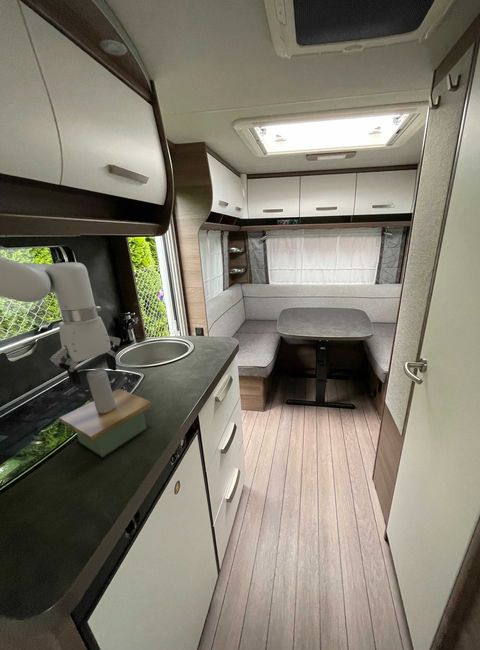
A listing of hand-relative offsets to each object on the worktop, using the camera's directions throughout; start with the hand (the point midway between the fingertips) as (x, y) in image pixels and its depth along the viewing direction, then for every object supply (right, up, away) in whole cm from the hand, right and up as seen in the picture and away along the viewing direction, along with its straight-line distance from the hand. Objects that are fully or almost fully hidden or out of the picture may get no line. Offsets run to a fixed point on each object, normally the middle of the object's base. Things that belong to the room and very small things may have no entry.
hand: (95, 375), depth 75 cm
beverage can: (+1, -10, +4) cm, 11 cm away
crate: (+1, -19, +8) cm, 21 cm away
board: (+1, -11, +5) cm, 13 cm away
